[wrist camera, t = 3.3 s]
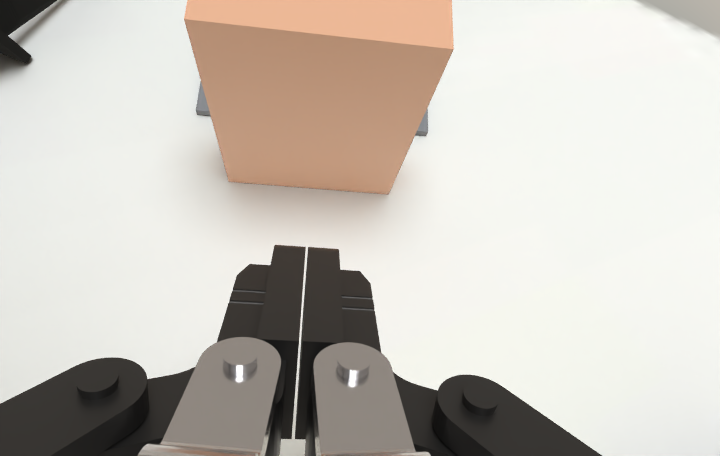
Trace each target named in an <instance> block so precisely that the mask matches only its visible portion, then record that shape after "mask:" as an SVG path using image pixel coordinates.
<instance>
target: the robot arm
mask: <svg viewBox="0 0 720 456" xmlns="http://www.w3.org/2000/svg"><path fill="white" fill-rule="evenodd" d="M304 261H305V247H298V246H284V245H275V246H274V251H273V256H272V261H271V265H256V264H249V265H248V266H247V267H246V268H245V269H244V270H243V271H241V272H240V273H239V274H238V275H237V277H236V280H235V284H234V287H233V292H232V294H231V297H230V302H229V304H228V307H227V310H226V314H225V317H224V320H223V324H222V327H221V330H220V334H219V337H218V340H217V343H215V344H213V345H211V346H210V347H209V348H207V349H206V350H205V351H204V352H203V353H202V355H201V357H200V358H199V361H198V363H197V365H196V367H194V368H192V369H190V370H187V371H184V372H181V373H178V374H174V375H169V376H163V377H158V378H152V379H147V376H146V372H145V371H144V369H143V368H142V367H141V366H140V365H139V364H137V363H135V362H133V361H130V360H127V359H123V358H101V359H95V360H91V361H87V362H84V363H81V364H79V365H77V366H75V367H73V368H71V369H69V370H67V371H65V372H63V373H61V374H59V375H57V376H55V377H53V378H51V379H49V380H47V381H45V382H43V383H41V384H39V385H37V386H35V387H33V388H31V389H29V390H27V391H25V392H23V393H21V394H19V395H17V396H15V397H13V398H11V399H9V400H7V401H5V402H3V403H1V404H0V456H279V453H280V443H281V439H291V438H292V424H293V411H294V398H295V385H296V371H297V358H298V345H299V331H300V317H301V303H302V289H303V275H304ZM295 439H306V444H305V456H602V455H600V454H599V453H597V452H596V451H594V450H593V449H592V448H590V447H589V446H587V445H586V444H584V443H583V442H581V441H580V440H579V439H577V438H576V437H574V436H573V435H571V434H570V433H569V432H567V431H566V430H564V429H563V428H561V427H560V426H558V425H557V424H556V423H554V422H553V421H551V420H550V419H548V418H547V417H545V416H544V415H543V414H541V413H540V412H538V411H537V410H535V409H534V408H532V407H531V406H530V405H528V404H527V403H525V402H524V401H522V400H521V399H519V398H518V397H517V396H515V395H514V394H512V393H511V392H509V391H508V390H507V389H505V388H504V387H502V386H501V385H499V384H497V383H495V382H493V381H491V380H489V379H486V378H483V377H479V376H475V375H458V376H454V377H451V378H449V379H447V380H445V381H444V382H443V383H442V384H441V385H440V387H439V389H438V391H437V390H433V389H430V388H426V387H423V386H419V385H416V384H413V383H410V382H408V381H406V380H404V379H402V378H401V377H399V376H397V375H396V374H395V373H394V372H393V371H392V367H391V365H390V362H389V361H388V359H387V358H386V357H385V356H384V355H383V354H382V353H381V349H380V342H379V336H378V329H377V323H376V317H375V311H374V304H373V300H372V291H371V284H370V283H369V281H368V280H367V279H366V278H365V277H364V276H363V274H362V273H361V272H360V271H349V270H340V260H339V249H328V248H314V247H308V257H307V270H306V282H305V295H304V308H303V322H302V337H301V352H300V368H299V383H298V399H297V414H296V430H295Z"/></svg>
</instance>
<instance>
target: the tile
mask: <svg viewBox="0 0 720 456" xmlns="http://www.w3.org/2000/svg"><path fill="white" fill-rule="evenodd" d="M184 20H185V24H186V28H187V31H188V35H189V39H190V42H191V46H192V50H193V53H194V57H195V60H196V64H197V68H198V71H199V75H200V79H201V82H202V86H203V90H204V93H205V97H206V100H207V104H208V108H209V111H210V115H211V119H212V122H213V126H214V129H215V133H216V137H217V140H218V144H219V148H220V151H221V155H222V159H223V162H224V166H225V169H226V173H227V177H228V180H229V182H239V183H252V184H264V185H277V186H290V187H302V188H315V189H327V190H340V191H352V192H365V193H377V194H389V192H390V190H391V188H392V185H393V183H394V181H395V179H396V176H397V174H398V172H399V170H400V168H401V165H402V163H403V161H404V159H405V156H406V154H407V152H408V150H409V147H410V145H411V143H412V141H413V139H414V136H415V134H416V132H417V130H418V127H419V125H420V123H421V121H422V119H423V116H424V114H425V112H426V110H427V107H428V105H429V103H430V101H431V98H432V96H433V94H434V92H435V90H436V87H437V85H438V83H439V81H440V78H441V76H442V74H443V72H444V69H445V67H446V65H447V63H448V61H449V58H450V56H451V54H452V52H453V49H454V48H453V22H452V0H188V1H187V6H186V11H185V17H184Z"/></svg>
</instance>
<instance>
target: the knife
mask: <svg viewBox="0 0 720 456" xmlns="http://www.w3.org/2000/svg"><path fill="white" fill-rule="evenodd" d="M55 1H57V0H0V53H1V54H4V55H6V56H9V57H11V58H14V59H16V60H19V61H21V62H23V63H27V62H28V60H29V59H30V57H31V55H30V54H28V53H27V52H26V51H25V50H24V49H23V48H21V47H20V46H19V45H18V44H17V43H16V42H14V41H13V40H12V39H11V38H10V37H8V35H9V34H11V33H12V32H13V31H15V30H16V29H18V28H19V27H20V26H22V25H23V24H25V23H26V22H27V21H29V20H30V19H32V18H33V17H35V16H36V15H37V14H39V13H40V12H42V11H43V10H44V9H46V8H47V7H49V6H50V5H51V4H53V3H54V2H55Z"/></svg>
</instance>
